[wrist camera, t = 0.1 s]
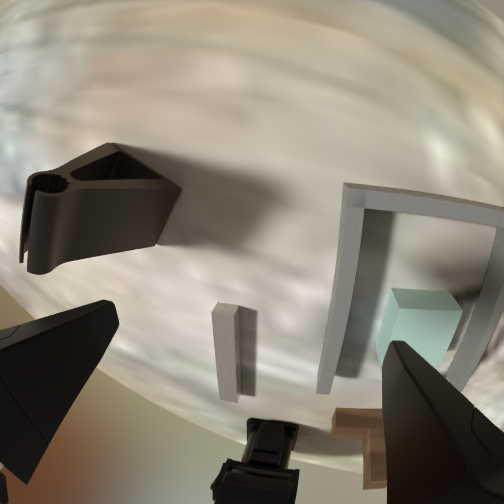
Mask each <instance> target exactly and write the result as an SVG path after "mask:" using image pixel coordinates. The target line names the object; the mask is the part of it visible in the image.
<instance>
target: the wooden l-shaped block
mask: <svg viewBox="0 0 504 504" xmlns="http://www.w3.org/2000/svg"><path fill="white" fill-rule="evenodd" d="M331 438H336V439H363V490H366V489H381V488H385V487H387V470H386V450H385V436H384V425H383V414H382V409H357V408H336V409H335V412H334V415H333V418H332V431H331Z"/></svg>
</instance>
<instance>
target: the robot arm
mask: <svg viewBox="0 0 504 504" xmlns="http://www.w3.org/2000/svg"><path fill="white" fill-rule="evenodd" d="M118 327H119V319H118V315H117V311H116V307H115V304H114V303H113V302H112V301H108V300H100V301H97V302H94V303H90V304H87V305H84V306H80V307H77V308H74V309H70V310H67V311H64V312H60V313H57V314H54V315H50V316H47V317H44V318H40V319H37V320H34V321H31V322H27V323H24V324H21V325H17V326H14V327H10V328H7V329H3V330H0V469H1V468H2V467H3V466H5V467H6V468H7V469H8V470H9V471H10V472H12V473H13V474H14V475H15V476H16V477H17V478H18V479H20V480H21V481H22V482H23V483H25V484H26V485H27V484H28V483H29V481H30V480H31V478H32V475H33V474H34V472H35V469H36V468H37V466H38V464H39V462H40V460H41V458H42V457H43V455H44V453H45V451H46V449H47V447H48V446H49V443H50V442H51V440H52V438H53V436H54V435H55V433H56V431H57V429H58V428H59V426H60V424H61V422H62V421H63V419H64V417H65V416H66V414H67V412H68V411H69V409H70V408H71V406H72V404H73V403H74V401H75V399H76V398H77V396H78V394H79V393H80V391H81V390H82V388H83V387H84V385H85V383H86V382H87V380H88V379H89V377H90V376H91V374H92V373H93V371H94V369H95V368H96V367H97V365H98V363H99V362H100V360H101V359H102V357H103V355H104V353H105V351H106V349H107V347H108V346H109V344H110V342H111V340H112V338H113V336H114V335H115V333H116V331H117V329H118ZM382 414H383V425H384V436H385V450H386V470H387V504H504V432H502V431H501V430H500V429H499V428H498V427H497V426H495V425H494V424H493V423H492V422H491V421H490V420H489V419H488V418H487V417H486V416H485V415H484V414H483V413H481V412H480V411H479V410H478V409H477V408H476V407H475V408H474V405H473V404H472V403H471V402H470V401H469V400H468V399H467V398H466V397H465V396H464V395H463V394H462V393H461V392H460V391H458V390H457V389H456V388H455V387H454V386H453V385H452V384H451V383H450V382H449V381H448V380H447V379H446V378H445V377H444V376H442V375H441V374H440V373H439V372H438V371H437V370H436V369H435V368H434V367H433V366H432V365H430V364H429V363H428V362H427V361H426V360H425V359H424V358H423V357H422V356H421V355H420V354H418V353H417V352H416V351H415V350H414V349H413V348H412V347H411V346H410V345H408V344H407V343H406V342H405V341H403V340H392V341H391V342H390V343H389V346H388V349H387V351H386V354H385V357H384V360H383V363H382ZM298 430H299V426H298V425H293V424H284V423H277V422H269V421H263V420H256V419H248V420H247V444H246V447H245V451H244V454H243V457H242V460H241V462H239V461H235V460H232V459H227V461H226V463H223V465H222V468H221V471H220V473H219V475H218V476H217V478H216V479H215V480H214V482H213V483H212V484H211V487H210V488H211V490H212V491H213V501H215V503H214V504H295V499H296V493H297V487H298V479H299V471H300V470H299V469H295V470H293V469H288V465H289V460H290V454H291V451H292V450H294V446H295V442H296V438H297V434H298ZM7 503H8V494H7V486H6V476H5V475H4V474H3V473H2V472H1V471H0V504H7Z"/></svg>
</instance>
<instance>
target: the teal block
mask: <svg viewBox="0 0 504 504" xmlns="http://www.w3.org/2000/svg"><path fill="white" fill-rule="evenodd" d="M462 313H463V310H462V309H461V307H460V306H459V304H458V303H457V302H456V300H455V299H454V297H453V296H452V295H451V293H450V292H443V291H427V290H412V289H398V288H391V289H390V293H389V298H388V302H387V305H386V309H385V313H384V317H383V320H382V324H381V327H380V331H379V334H378V338H377V341H376V344H375V345H376V350H377V355H378V360H379V365H380V368H382V363H383V360H384V357H385V354H386V351H387V349H388V346H389V343H390V342H391V341H392V340H403V341H405V342H406V343H407V344H408V345H410V346H411V347H412V348H413V349H414V350H415V351H416V352H417V353H418V354H420V355H421V356H422V357H423V358H424V359H425V360H426V361H427V362H428V363H429V364H430V365H432V366H433V367H439V366H440V364H441V362H442V360H443V358H444V356H445V354H446V351H447V349H448V347H449V345H450V342H451V340H452V338H453V335H454V333H455V331H456V328H457V326H458V323H459V321H460V318H461V315H462Z"/></svg>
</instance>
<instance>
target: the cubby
mask: <svg viewBox="0 0 504 504" xmlns="http://www.w3.org/2000/svg"><path fill="white" fill-rule="evenodd" d="M364 208H367V209H376V210H386V211H394V212H403V213H411V214H419V215H427V216H434V217H441V218H448V219H455V220H461V221H467V222H474V223H480V224H485V225H491V226H497V230H496V235H495V240H494V245H493V249H492V253H491V257H490V261H489V265H488V268H487V272H486V276H485V279H484V282H483V285H482V289H481V292H480V295H479V298H478V301H477V304H476V306H475V309H474V312H473V315H472V317H471V320H470V322H469V325H468V327H467V330H466V332H465V335H464V337H463V339H462V341H461V344H460V346H459V348H458V350H457V352H456V355H455V357H454V359H453V361H452V363H451V365H450V367H449V369H448V371H447V373H446V375H447V377H448V380H449V382H450V383H451V384H452V385H453V386H454V387H455V388H456V389H457V390H458V391H460V392H461V391H463V389H464V387H465V386H466V384H467V382H468V380H469V379H470V377H471V375H472V373H473V372H474V370H475V368H476V366H477V364H478V362H479V361H480V359H481V357H482V355H483V353H484V351H485V349H486V347H487V344H488V342H489V340H490V338H491V336H492V334H493V331H494V329H495V327H496V324H497V322H498V320H499V317H500V315H501V312H502V310H503V307H504V207H499V206H495V205H490V204H486V203H481V202H476V201H471V200H466V199H461V198H455V197H450V196H444V195H438V194H432V193H425V192H418V191H412V190H404V189H397V188H389V187H381V186H372V185H363V184H352V183H343V197H342V210H341V222H340V233H339V242H338V252H337V260H336V268H335V276H334V283H333V290H332V297H331V304H330V310H329V316H328V322H327V328H326V334H325V339H324V345H323V350H322V355H321V360H320V365H319V370H318V381H317V394H329V393H330V390H331V386H332V383H333V379H334V375H335V372H336V368H337V364H338V360H339V356H340V352H341V347H342V343H343V339H344V334H345V330H346V325H347V320H348V315H349V310H350V305H351V300H352V294H353V289H354V283H355V277H356V271H357V264H358V257H359V250H360V243H361V235H362V226H363V217H364Z"/></svg>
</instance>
